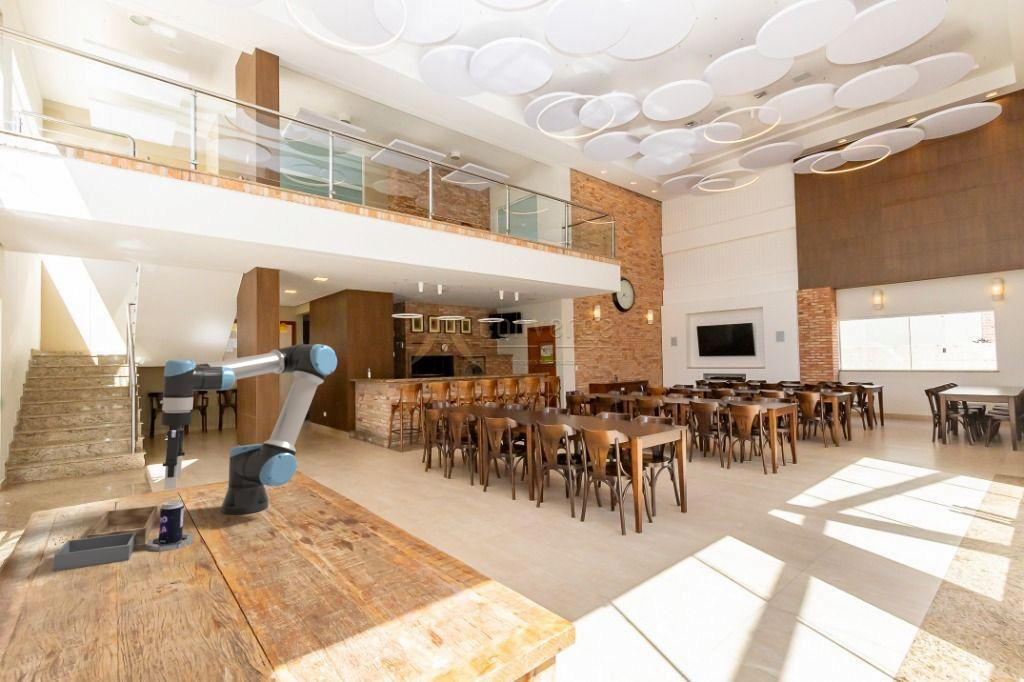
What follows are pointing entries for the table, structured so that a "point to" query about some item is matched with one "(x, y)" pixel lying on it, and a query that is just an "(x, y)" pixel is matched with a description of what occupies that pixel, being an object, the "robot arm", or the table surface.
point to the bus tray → (95, 551)
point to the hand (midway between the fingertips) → (172, 483)
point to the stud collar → (155, 547)
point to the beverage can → (171, 522)
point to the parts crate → (127, 517)
